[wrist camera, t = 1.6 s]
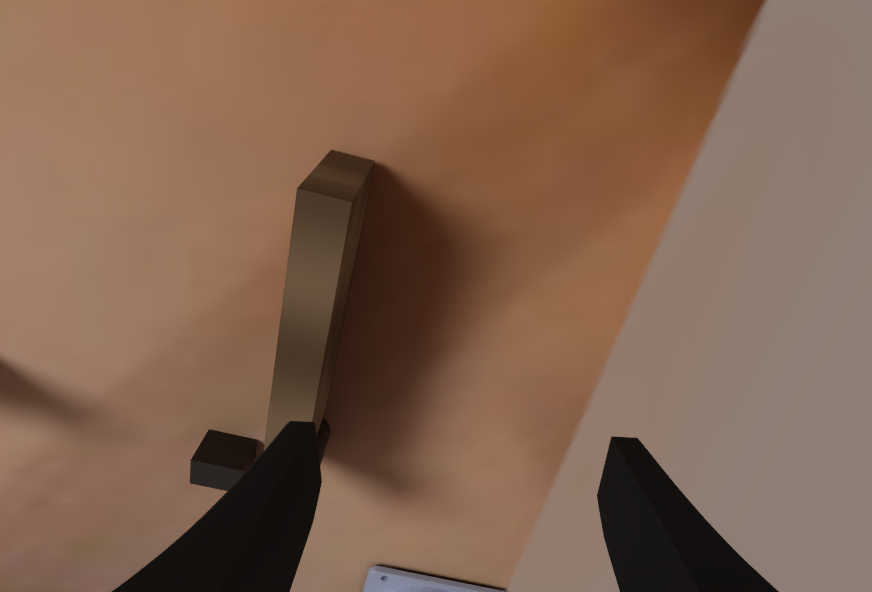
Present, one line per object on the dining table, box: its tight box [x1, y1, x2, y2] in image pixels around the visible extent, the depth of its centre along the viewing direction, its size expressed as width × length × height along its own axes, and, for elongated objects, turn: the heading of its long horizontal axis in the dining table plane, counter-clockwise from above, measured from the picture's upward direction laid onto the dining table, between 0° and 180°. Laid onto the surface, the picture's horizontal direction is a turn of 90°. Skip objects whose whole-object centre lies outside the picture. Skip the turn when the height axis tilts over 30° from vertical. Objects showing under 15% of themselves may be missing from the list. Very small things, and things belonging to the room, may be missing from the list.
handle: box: [264, 150, 375, 450], centre depth 20 cm, size 13×2×5 cm, turn 166°
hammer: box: [190, 419, 330, 491], centre depth 23 cm, size 22×4×6 cm, turn 76°
